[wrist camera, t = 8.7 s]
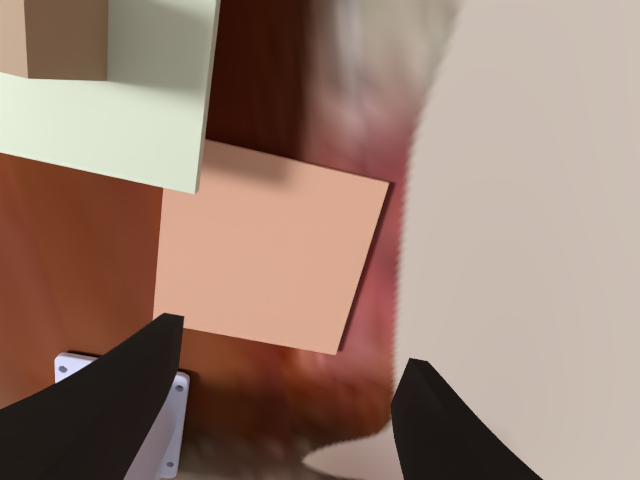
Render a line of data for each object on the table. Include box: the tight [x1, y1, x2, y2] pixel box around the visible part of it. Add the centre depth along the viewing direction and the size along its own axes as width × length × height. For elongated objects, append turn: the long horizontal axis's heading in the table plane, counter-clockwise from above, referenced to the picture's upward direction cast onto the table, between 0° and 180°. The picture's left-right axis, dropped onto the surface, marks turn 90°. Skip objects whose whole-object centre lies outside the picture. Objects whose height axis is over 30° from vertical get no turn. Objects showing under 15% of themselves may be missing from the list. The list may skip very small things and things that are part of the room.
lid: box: [0, 0, 221, 194], centre depth 11 cm, size 10×10×5 cm
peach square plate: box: [153, 139, 389, 355], centre depth 20 cm, size 11×11×1 cm
